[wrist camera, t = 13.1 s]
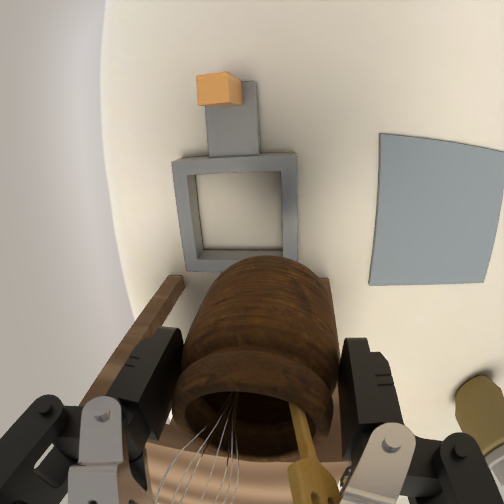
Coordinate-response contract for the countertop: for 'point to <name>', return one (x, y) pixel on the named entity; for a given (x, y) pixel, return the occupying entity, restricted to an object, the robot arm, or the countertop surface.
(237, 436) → the utensil holder
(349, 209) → the countertop surface
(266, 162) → the sliding frame
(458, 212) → the slate mat
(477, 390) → the squeeze bottle
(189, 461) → the walnut shelf
